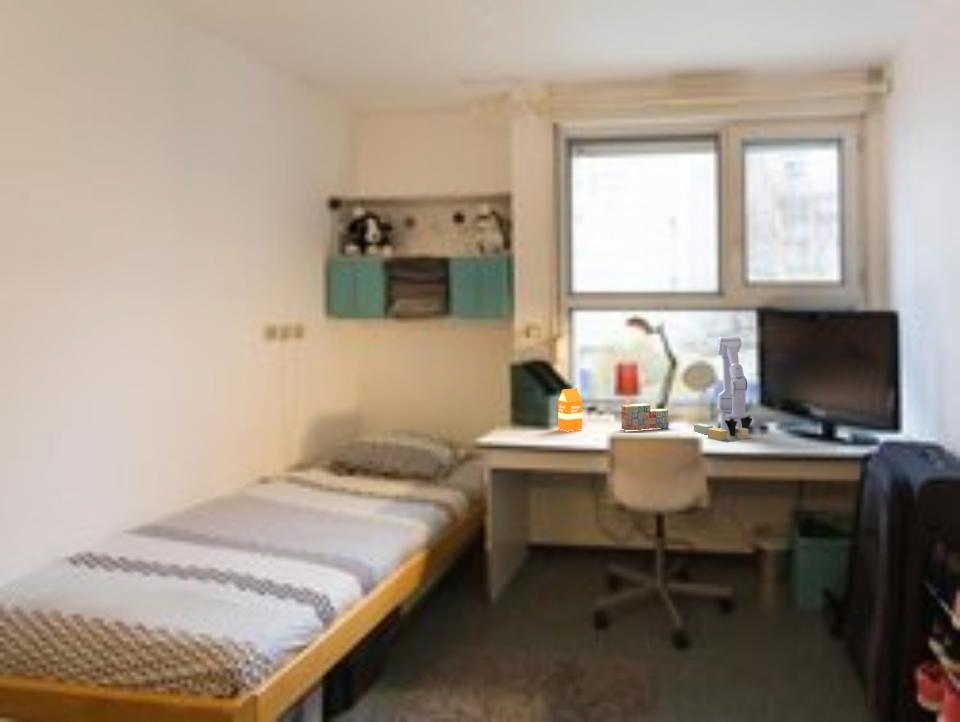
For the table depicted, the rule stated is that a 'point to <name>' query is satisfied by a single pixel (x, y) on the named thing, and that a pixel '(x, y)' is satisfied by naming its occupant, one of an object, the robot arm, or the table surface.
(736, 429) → the birch brick
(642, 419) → the stack of blocks
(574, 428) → the orange juice
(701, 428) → the sage brick
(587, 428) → the table surface
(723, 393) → the robot arm
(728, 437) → the desk mat
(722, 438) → the ochre brick
